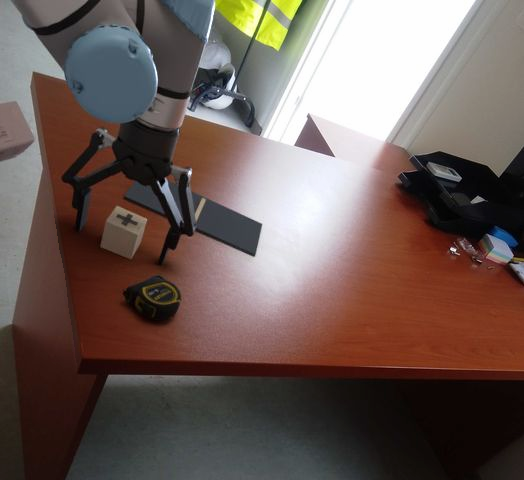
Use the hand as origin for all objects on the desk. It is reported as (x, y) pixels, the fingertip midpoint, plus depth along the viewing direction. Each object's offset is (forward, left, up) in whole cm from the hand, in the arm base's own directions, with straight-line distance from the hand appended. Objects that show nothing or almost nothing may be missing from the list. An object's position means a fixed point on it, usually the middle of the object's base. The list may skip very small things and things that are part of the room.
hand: (121, 244), depth 74 cm
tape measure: (+8, -11, 0) cm, 14 cm away
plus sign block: (0, 0, 0) cm, 0 cm away
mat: (+9, +19, 0) cm, 21 cm away
